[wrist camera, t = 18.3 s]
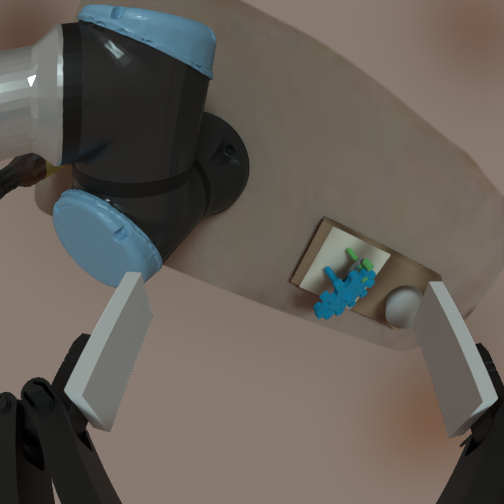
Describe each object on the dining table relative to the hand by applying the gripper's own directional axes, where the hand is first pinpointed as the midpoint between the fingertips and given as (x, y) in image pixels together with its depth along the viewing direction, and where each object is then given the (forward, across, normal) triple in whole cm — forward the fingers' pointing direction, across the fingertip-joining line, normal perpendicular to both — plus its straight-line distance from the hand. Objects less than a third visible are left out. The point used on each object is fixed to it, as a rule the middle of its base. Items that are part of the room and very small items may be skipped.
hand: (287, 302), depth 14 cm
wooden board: (+27, +14, -19) cm, 36 cm away
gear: (+26, +11, -18) cm, 34 cm away
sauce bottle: (+39, -34, 0) cm, 52 cm away
